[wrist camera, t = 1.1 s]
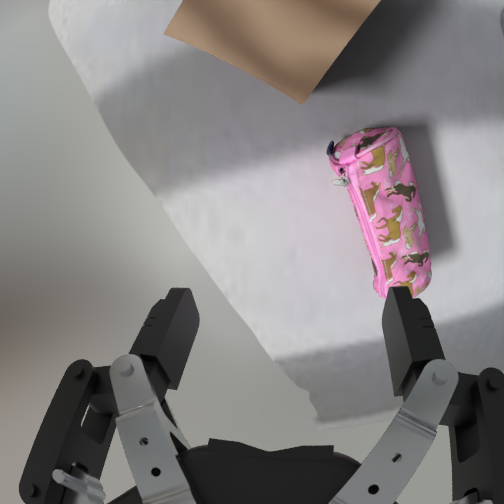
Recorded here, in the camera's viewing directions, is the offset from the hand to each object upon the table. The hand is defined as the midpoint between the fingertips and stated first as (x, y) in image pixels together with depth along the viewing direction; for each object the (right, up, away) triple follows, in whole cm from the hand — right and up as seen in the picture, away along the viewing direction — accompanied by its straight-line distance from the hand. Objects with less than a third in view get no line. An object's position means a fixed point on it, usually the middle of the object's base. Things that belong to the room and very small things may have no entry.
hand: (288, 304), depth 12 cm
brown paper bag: (+3, +29, +11) cm, 32 cm away
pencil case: (+15, +8, +24) cm, 30 cm away
